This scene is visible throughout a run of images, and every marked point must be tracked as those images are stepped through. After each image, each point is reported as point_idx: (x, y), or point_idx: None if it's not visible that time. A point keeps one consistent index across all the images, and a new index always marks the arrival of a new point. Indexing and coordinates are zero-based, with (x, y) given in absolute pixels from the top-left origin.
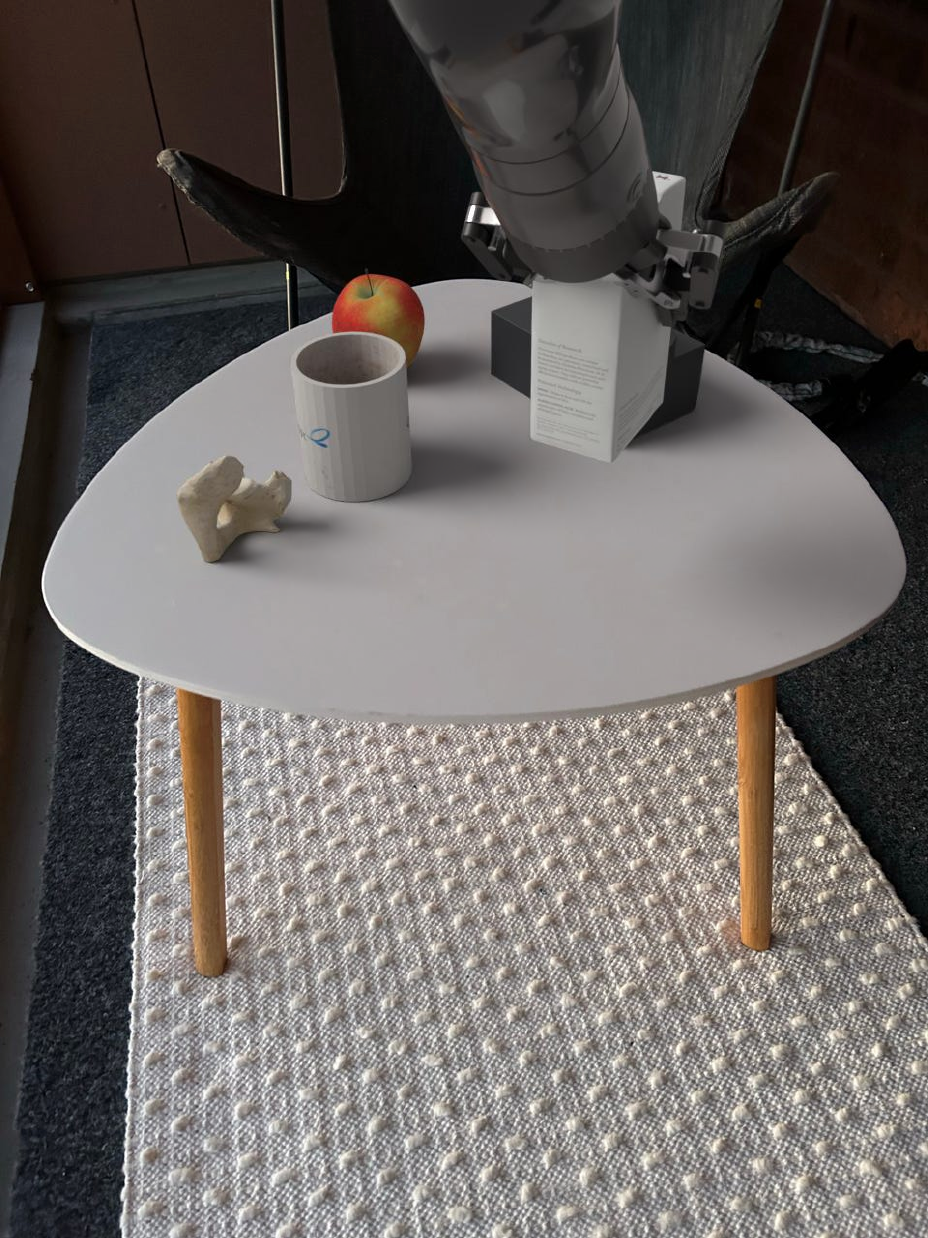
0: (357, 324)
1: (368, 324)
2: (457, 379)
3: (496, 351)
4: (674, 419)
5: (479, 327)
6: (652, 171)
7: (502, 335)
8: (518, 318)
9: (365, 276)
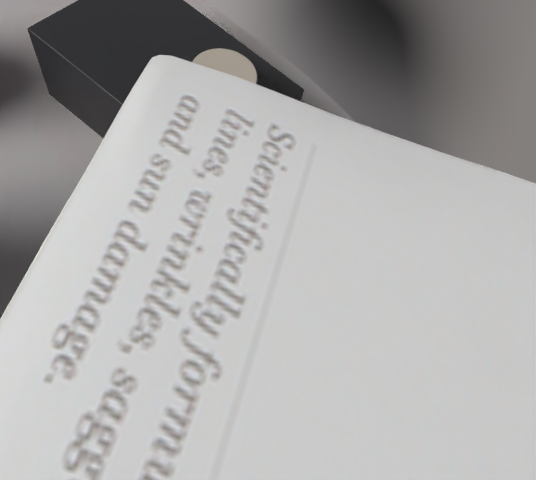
0: None
1: None
2: (6, 105)
3: (48, 75)
4: None
5: (30, 10)
6: (514, 181)
7: (50, 61)
8: (66, 44)
9: None
